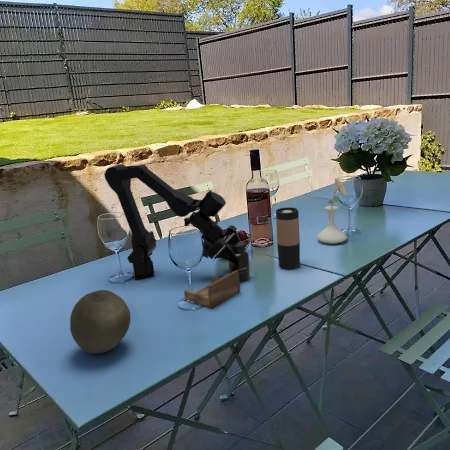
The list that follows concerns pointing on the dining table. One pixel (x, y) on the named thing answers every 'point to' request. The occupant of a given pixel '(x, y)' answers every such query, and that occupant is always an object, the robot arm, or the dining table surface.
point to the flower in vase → (333, 220)
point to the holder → (216, 291)
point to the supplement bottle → (243, 259)
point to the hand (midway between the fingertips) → (241, 258)
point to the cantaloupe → (99, 321)
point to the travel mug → (288, 238)
